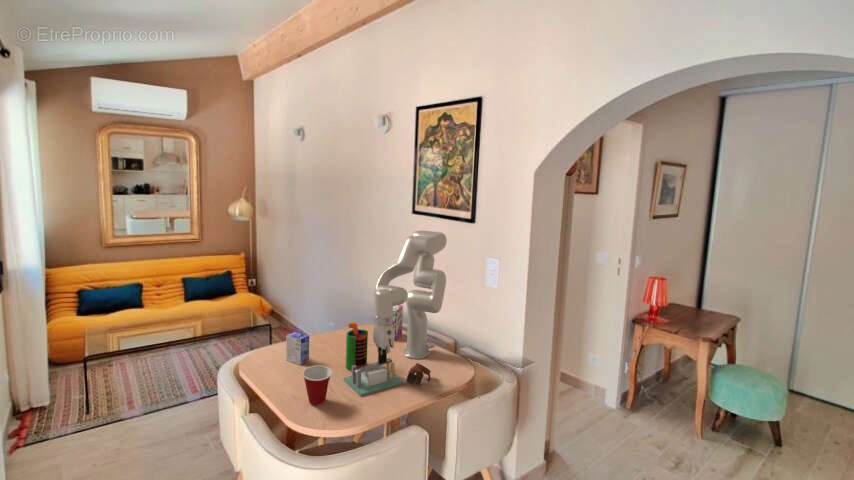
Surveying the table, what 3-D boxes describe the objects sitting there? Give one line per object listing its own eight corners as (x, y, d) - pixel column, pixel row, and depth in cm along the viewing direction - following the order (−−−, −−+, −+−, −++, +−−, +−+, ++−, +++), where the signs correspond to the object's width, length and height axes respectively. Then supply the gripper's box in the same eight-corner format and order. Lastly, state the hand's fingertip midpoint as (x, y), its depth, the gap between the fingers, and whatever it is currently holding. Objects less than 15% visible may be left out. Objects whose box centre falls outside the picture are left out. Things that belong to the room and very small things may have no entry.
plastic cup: (313, 412, 153) (313, 381, 151) (296, 401, 160) (296, 371, 158) (338, 401, 161) (338, 371, 159) (320, 391, 168) (320, 362, 166)
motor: (361, 372, 185) (362, 328, 182) (342, 370, 187) (342, 326, 184) (369, 363, 195) (369, 321, 192) (350, 360, 197) (351, 319, 194)
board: (385, 369, 189) (385, 352, 188) (404, 383, 176) (404, 365, 175) (343, 380, 178) (343, 361, 177) (360, 396, 165) (360, 377, 164)
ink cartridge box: (310, 361, 195) (310, 331, 193) (300, 365, 190) (300, 334, 188) (295, 356, 200) (294, 326, 198) (285, 360, 195) (285, 329, 193)
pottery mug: (404, 377, 183) (412, 360, 184) (423, 387, 183) (432, 370, 185) (405, 384, 171) (415, 365, 172) (426, 394, 171) (436, 375, 173)
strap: (389, 359, 182) (389, 357, 181) (392, 361, 180) (392, 359, 179) (353, 371, 173) (353, 369, 172) (356, 374, 170) (356, 372, 170)
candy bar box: (395, 341, 221) (396, 311, 219) (386, 340, 223) (387, 310, 220) (402, 334, 232) (403, 305, 230) (394, 333, 233) (394, 304, 231)
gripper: (400, 323, 171) (399, 367, 174) (382, 313, 184) (381, 354, 186) (384, 326, 167) (383, 371, 169) (366, 316, 179) (365, 358, 182)
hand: (382, 362), depth 178 cm, fingers closed
